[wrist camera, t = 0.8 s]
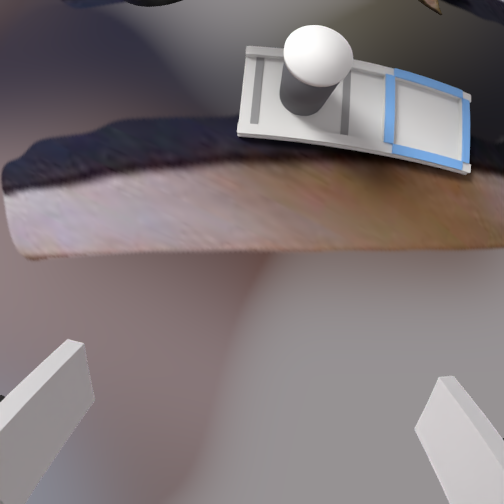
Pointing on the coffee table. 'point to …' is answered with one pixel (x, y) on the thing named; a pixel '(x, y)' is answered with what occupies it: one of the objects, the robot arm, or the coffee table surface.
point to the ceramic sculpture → (432, 5)
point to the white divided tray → (363, 113)
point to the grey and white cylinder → (313, 68)
